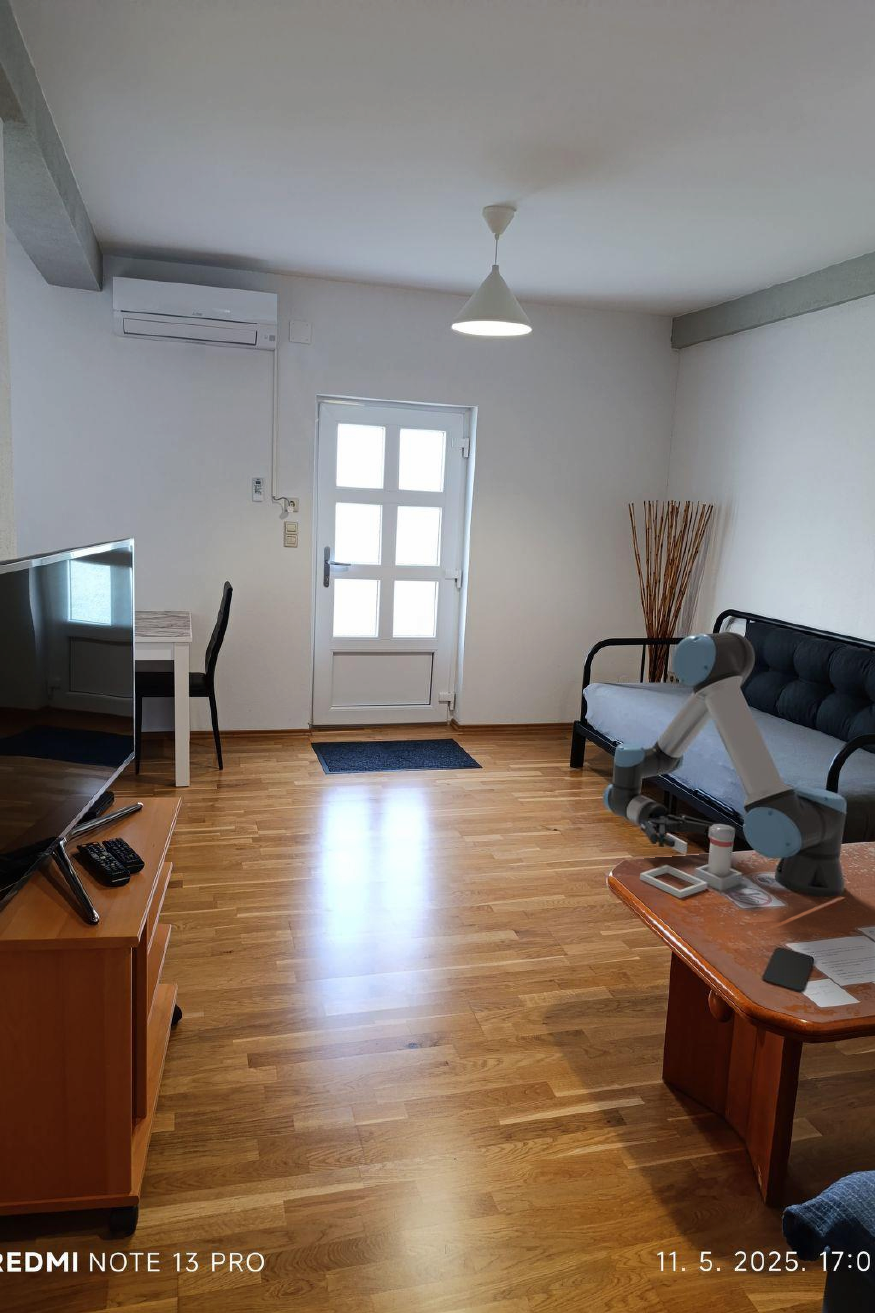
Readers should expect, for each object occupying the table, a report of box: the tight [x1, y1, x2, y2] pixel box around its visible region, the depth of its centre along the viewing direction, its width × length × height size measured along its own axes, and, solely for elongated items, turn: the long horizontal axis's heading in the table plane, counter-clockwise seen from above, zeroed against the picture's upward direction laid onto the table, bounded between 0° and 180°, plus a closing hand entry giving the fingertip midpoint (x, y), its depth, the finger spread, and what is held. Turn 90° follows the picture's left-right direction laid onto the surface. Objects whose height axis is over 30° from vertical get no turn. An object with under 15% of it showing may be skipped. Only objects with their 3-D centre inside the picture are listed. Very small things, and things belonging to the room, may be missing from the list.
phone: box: [762, 946, 815, 993], centre depth 173 cm, size 7×1×15 cm
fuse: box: [707, 823, 736, 878], centre depth 209 cm, size 5×5×13 cm
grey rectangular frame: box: [639, 864, 708, 899], centre depth 208 cm, size 12×10×2 cm
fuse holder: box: [690, 863, 750, 895], centre depth 210 cm, size 11×9×3 cm
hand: (707, 845), depth 213 cm, fingers open, 13 cm apart
